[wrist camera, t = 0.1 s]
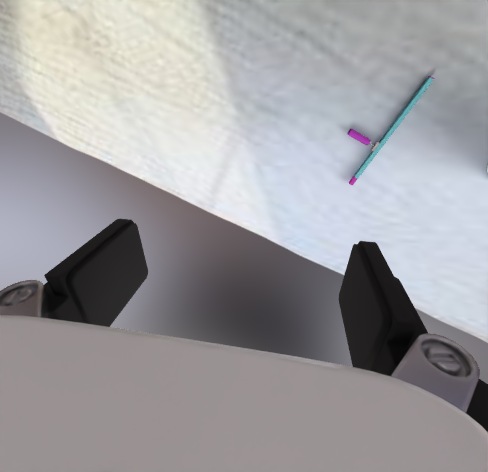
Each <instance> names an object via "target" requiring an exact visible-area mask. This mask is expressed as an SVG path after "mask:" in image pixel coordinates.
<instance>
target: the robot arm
mask: <svg viewBox="0 0 488 472" xmlns="http://www.w3.org/2000/svg"><path fill="white" fill-rule="evenodd" d="M147 275H148V268H147V265H146V260H145V256H144V252H143V248H142V244H141V239H140V235H139V231H138V227H137V225H136V224H135V223H134V222H133V221H132V220H127V219H117V220H115V221H114V222H113V223H112V224H110V225H109V226H108V227H106V228H105V229H104V230H102V231H101V232H100V233H99V234H97V235H96V236H95V237H93V238H92V239H91V240H89V241H88V242H87V243H86V244H84V245H83V246H82V247H80V248H79V249H78V250H76V251H75V252H74V253H73V254H71V255H70V256H69V257H67V258H66V259H65V260H64V261H62V262H61V263H60V264H58V265H57V266H56V267H54V268H53V269H52V270H50V271H49V272H48V273H47V274H45V278H46V280H47V281H48V282H47V283H46V284H45V285H43V283H41V282H40V281H37V280H27V281H22V282H18V283H15V284H12V285H10V286H8V287H6V288H4V289H3V290H1V291H0V472H488V384H486V383H485V382H483V381H481V380H480V379H479V375H480V369H479V367H478V365H477V362H476V361H475V360H474V358H473V357H472V356H471V354H469V353H468V352H467V351H466V350H465V349H464V348H463V347H462V346H460V345H459V344H457V343H456V342H454V341H452V340H450V339H448V338H446V337H444V336H440V335H437V334H428V332H427V330H426V328H425V326H424V325H423V323H422V321H421V319H420V317H419V315H418V313H417V311H416V310H415V308H414V306H413V304H412V302H411V300H410V299H409V297H408V295H407V293H406V291H405V289H404V288H403V286H402V284H401V282H400V281H399V279H398V278H396V277H394V276H393V274H392V272H391V270H390V268H389V266H388V264H387V262H386V260H385V259H384V257H383V255H382V253H381V251H380V249H379V247H378V245H377V244H376V243H375V242H365V241H360V242H359V243H358V244H354V245H353V248H352V251H351V255H350V258H349V262H348V265H347V269H346V272H345V276H344V279H343V283H342V286H341V290H340V293H339V304H340V308H341V313H342V318H343V323H344V327H345V332H346V337H347V341H348V346H349V351H350V355H351V360H352V364H353V367H350V366H346V365H340V364H335V363H329V362H323V361H317V360H312V359H307V358H301V357H295V356H289V355H283V354H277V353H271V352H264V351H258V350H252V349H246V348H239V347H234V346H227V345H221V344H215V343H208V342H202V341H196V340H190V339H183V338H177V337H171V336H164V335H158V334H151V333H144V332H138V331H131V330H125V329H119V328H111V327H110V325H111V324H112V323H113V321H114V320H115V319H116V317H117V316H118V315H119V313H120V312H121V311H122V309H123V308H124V307H125V306H126V304H127V303H128V301H129V300H130V299H131V298H132V296H133V295H134V294H135V292H136V291H137V290H138V288H139V287H140V286H141V284H142V283H143V282H144V280H145V279H146V278H147Z"/></svg>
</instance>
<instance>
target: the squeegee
mask: <svg viewBox="0 0 488 472" xmlns="http://www.w3.org/2000/svg"><path fill="white" fill-rule="evenodd" d="M433 80H434V78H433V77H431V76H429V77H428V78H427V79H426V80H425V82H424V83H423V84H422V86H421V87H420V88H419V90H418V91H417V92H416V94H415V95H414V96H413V98H412V99H411V100H410V102H409V103H408V104H407V106H406V107H405V108H404V110H403V111H402V112H401V114H400V115H399V116H398V118H397V119H396V120H395V122H394V123H393V124H392V126H391V127H390V128H389V130H388V131H387V132H386V134H385V135H384V136H383V138H382V139H381V140H380V141H379V142H378V141H377V142H376V143H375V144H374V145H373V144H372V143H370V141H371V140H370V139H368V138H367V137H365V136H363V135H361V134H360V133H358V132H356V131H354V130H353V129H350V130H349V132H348V135H350V136H351V137H353V138H355V139H357V140H358V141H360V142H362V143H364V144H365V145H368V144H371V145H373V147H372V148H371V151H372V152H371V153H370V155H369V156H368V157H367V159H366V160H365V161H364V163H363V164H362V165H361V167H360V168H359V169H358V171H357V172H356V173H355V175H354V176H353V177H352V179H351V180H350V181H349V184H351V185H353V184H354V183H355V181H356V180H357V179H358V178H359V176H360V175H361V174H362V172H363V171H364V170H365V168H366V167H367V166H368V165H369V163H370V162H371V161H372V159H373V158H374V157H375V155H376V154H377V153H378V152H379V150H380V149H381V148H382V146H383V145H384V144H385V142H386V141H387V140H388V139H389V137H390V136H391V135H392V133H393V132H394V131H395V129H396V128H397V127H398V126H399V124H400V123H401V122H402V120H403V119H404V118H405V116H406V115H407V114H408V112H409V111H410V110H411V109H412V107H413V106H414V105H415V103H416V102H417V101H418V99H419V98H420V97H421V96H422V94H423V93H424V92H425V90H426V89H427V88H428V86H429V85H430V84H431V83H432V81H433Z"/></svg>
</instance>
